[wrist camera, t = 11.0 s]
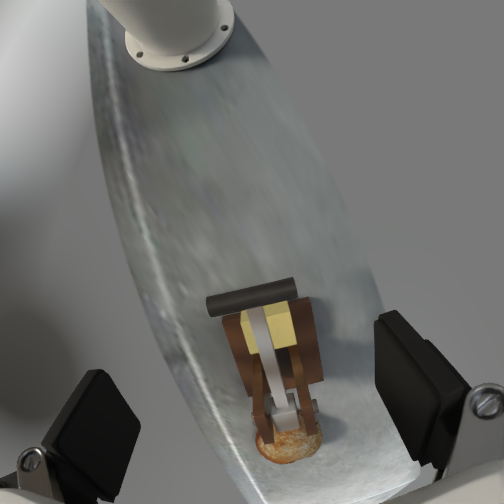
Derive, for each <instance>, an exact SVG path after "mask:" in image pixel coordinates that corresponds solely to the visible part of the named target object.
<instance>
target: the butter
mask: <svg viewBox="0 0 504 504" xmlns="http://www.w3.org/2000/svg"><path fill="white" fill-rule="evenodd" d="M263 308H264V312H265V316H266V319H267V323H268V327H269V330H270V334H271V338H272V342H273V345H274V349H278V348H282V347H287V346H291V345H295V344H297V341H296V336H295V332H294V327H293V322H292V318H291V313H290V309H289V306H288V302H287V301H283V302H279V303H274V304H270V305H266V306H263ZM240 323H241V326H242V330H243V333H244V336H245V339H246V343H247V346H248V349H249V352H250V354H255V353H259V351H258V348H257V345H256V341H255V338H254V335H253V332H252V328H251V325H250V322H249V318H248V315H247V312H246V310H244V311H241V322H240Z"/></svg>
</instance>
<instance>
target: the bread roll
mask: <svg viewBox="0 0 504 504" xmlns="http://www.w3.org/2000/svg"><path fill="white" fill-rule="evenodd" d="M298 416H299V421H300V428H298V429H293V430H288V431H283V432H277V431H276V428H275V425H274V422H273V429H274V440H275V443H272V444H266V445H264V443H263V441H262V438H261V436H260V433H259V431H258V432H257V435H256V446H257V449H258V451H259V452H260V454H262V455H263V456H264V457H265V458H266V459H268V460H270V461H271V462H274V463H277V464H288V463H293V462H295V461H296V460H299V459H303V458H307V457H311V456H312V455H314V454H315V453H316V452H317V450H318V449H319V447H320V445H321V442H322V437H323V435H322V431H321V428H320V425H319V423H318V421H317V420H316V416H315V415H314V416H315V421H316V427H317V432H318V434H316V435H312V436H307V434H306V429H305V425H304V421H303V416H302V412H300V411H298Z"/></svg>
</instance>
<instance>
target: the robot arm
mask: <svg viewBox="0 0 504 504" xmlns="http://www.w3.org/2000/svg"><path fill="white" fill-rule="evenodd" d="M98 1H99V2H100V3H101V4H102V5H103V6H104V7H105V8H106V9H107V10H108V11H109V12H110V13H111V14H112V15H113V16H114V17H115V18H116V19H117V20H118V22H119V23H120V24H121V25H122V26H123V27H124V28H125V29H126V32H125V44H126V47H127V50H128V52H129V54H130V55H131V56H132V57H133V58H134V60H135V61H137V62H138V63H139V64H141V65H142V66H144V67H146V68H149V69H152V70H157V71H178V70H183V69H187V68H191V67H193V66H196V65H198V64H200V63H202V62H204V61H206V60H207V59H209V58H211V57H212V56H214V55H215V54H216V53H217V52H218V51H220V50H221V49H222V47H223V46H224V45H225V44H226V43H227V41H228V40H229V38H230V36H231V34H232V31H233V29H234V22H235V17H234V10H233V8H232V5H231V3H230V2H229V0H98ZM224 30H227V31H224ZM186 61H188V62H187V63H185V62H186ZM374 344H375V385H376V388H377V391H378V393H379V394H380V396H381V398H382V400H383V402H384V404H385V406H386V408H387V410H388V412H389V414H390V416H391V418H392V420H393V422H394V424H395V426H396V428H397V430H398V432H399V434H400V436H401V438H402V440H403V442H404V444H405V446H406V448H407V450H408V452H409V455H410V457H411V459H412V460H413V461H417V460H418V461H419V463H420V465H421V467H422V466H424V465H426V464H428V463H430V462H431V463H432V465H433V467H434V468H435V469H437V470H436V472H435V475H434V478H433V480H432V483H431V484H429V485H427V486H425V487H422V488H419V489H417V490H414V491H412V492H409V493H407V494H405V495H402V496H399V497H396V498H394V499H392V500H388V501H385V502H383V503H380V504H504V387H503V386H501V385H499V384H495V383H484V384H481V385H478V386H476V387H474V388H473V389H472V388H471V387H470V386H469V384H468V383H467V382H466V381H465V380H464V379H463V377H462V376H461V375H460V374H459V373H458V372H457V370H456V369H455V368H454V367H453V366H452V365H451V364H450V363H449V362H448V360H447V359H446V358H445V357H444V356H443V355H442V354H441V352H440V351H439V350H438V349H437V348H436V347H435V346H434V345H433V344H432V343H431V342H430V341H429V340H426V339H425V340H424V339H423V338H422V337H421V336H420V335H419V334H418V333H417V332H416V331H415V330H414V328H413V327H412V326H411V325H410V324H409V323H408V322H407V321H406V320H405V319H404V318H403V317H402V316H401V315H400V313H398V311H396V310H393V311H390V312H387V313H383V314H380V315H379V317H378V320H376V321H374ZM140 429H141V425H140V421H139V420H138V418H137V417H136V416H135V414H134V413H133V411H132V410H131V408H130V407H129V405H128V404H127V402H126V401H125V399H124V398H123V396H122V395H121V393H120V392H119V390H118V388H117V387H116V385H115V384H114V382H113V380H112V379H111V377H110V376H109V374H108V373H106V372H105V371H104V370H102V369H96V370H88V371H87V372H86V374H85V375H84V377H83V378H82V380H81V381H80V383H79V384H78V386H77V387H76V388H75V390H74V392H73V393H72V395H71V396H70V398H69V399H68V401H67V402H66V404H65V405H64V407H63V408H62V410H61V411H60V413H59V415H58V416H57V418H56V419H55V421H54V423H53V424H52V426H51V427H50V429H49V431H48V432H47V434H46V435H45V437H44V439H43V440H42V442H41V445H42V446H43V447H44V448H45V449H46V450H47V451H46V453H44V452H43V451H42V450H41V448H38V447H31V448H28V449H26V450H25V451H24V452H22V453H21V455H20V456H19V458H18V461H17V471H16V472H13V473H11V474H9V475H7V476H5V477H2V478H0V504H98V502H97V498H100V499H101V500H102V501H107V502H112V503H114V500H115V497H116V496H117V495H118V494H119V492H120V488H121V485H122V482H123V479H124V476H125V473H126V470H127V467H128V464H129V461H130V458H131V455H132V452H133V449H134V446H135V444H136V441H137V438H138V435H139V432H140Z"/></svg>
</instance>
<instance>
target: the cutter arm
mask: <svg viewBox="0 0 504 504" xmlns="http://www.w3.org/2000/svg"><path fill="white" fill-rule="evenodd" d="M295 298H298V294H297V289H296V285H295V281H294V278H293V277H291V278H286V279H282V280H278V281H274V282H270V283H266V284H261V285H257V286H253V287H249V288H244V289H240V290H236V291H231V292H227V293H222V294H218V295H213V296H209V297H207V298H206V306H207V310H208V313H209V315H210V317H216V316H221V315H225V314H230V313H235V312H239V311H244V310H246V312H247V315H248V318H249V322H250V325H251V328H252V332H253V335H254V338H255V341H256V345H257V348H258V351H259V354H260V358H261V361H262V364H263V367H264V370H265V374H266V377H267V380H268V383H269V386H270V389H271V393H272V396H273V397H270V408H271V417H272V420H273V422H274V425H275V428H276V431H277V432H283V431H288V430H293V429H298V428H300V421H299V416H298V411H297V407H296V402H295V398H294V394H293V393H289V394H286V390H285V386H284V383H283V379H282V375H281V371H280V368H279V364H278V360H277V357H276V353H275V349H274V345H273V342H272V338H271V334H270V330H269V327H268V323H267V319H266V316H265V312H264V308H263V306H266V305H270V304H274V303H279V302H283V301H287V300H291V299H295Z"/></svg>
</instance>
